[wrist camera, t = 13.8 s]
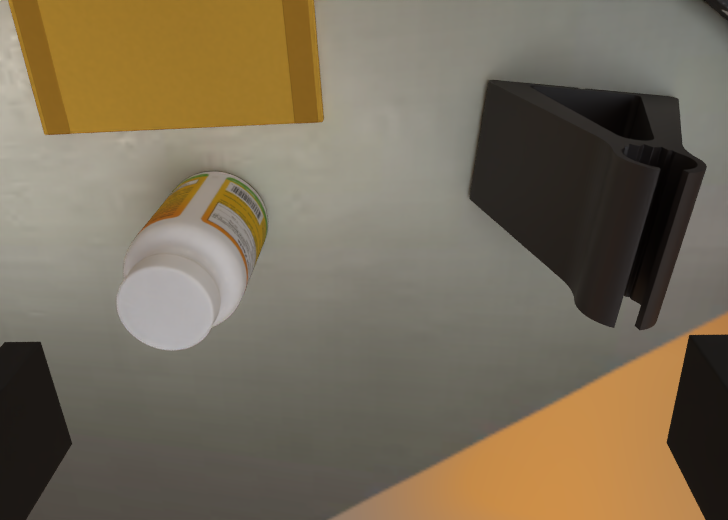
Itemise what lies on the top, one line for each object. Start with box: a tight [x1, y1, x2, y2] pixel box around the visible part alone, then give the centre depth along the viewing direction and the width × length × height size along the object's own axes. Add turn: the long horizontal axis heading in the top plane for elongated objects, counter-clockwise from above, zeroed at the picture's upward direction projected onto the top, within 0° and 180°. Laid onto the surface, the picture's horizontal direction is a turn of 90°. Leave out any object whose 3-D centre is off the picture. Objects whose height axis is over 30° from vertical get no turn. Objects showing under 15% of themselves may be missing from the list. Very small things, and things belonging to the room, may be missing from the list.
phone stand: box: [470, 80, 707, 330], centre depth 28 cm, size 9×6×12 cm, turn 85°
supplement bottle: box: [116, 171, 268, 350], centre depth 32 cm, size 5×5×10 cm
